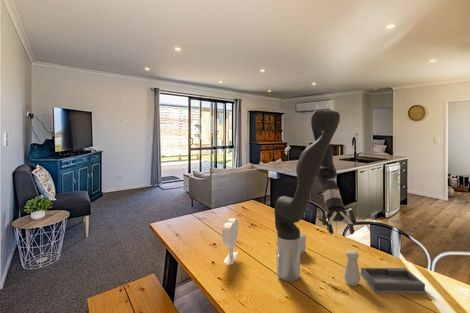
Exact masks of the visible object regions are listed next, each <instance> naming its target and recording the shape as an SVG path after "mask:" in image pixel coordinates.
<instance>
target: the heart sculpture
mask: <svg viewBox="0 0 470 313" xmlns="http://www.w3.org/2000/svg"><path fill="white" fill-rule="evenodd" d="M238 234H239V219H238V218H230V217H229V218H228V219H227V222H226V221H225V223H224V224H223V227H222V233H221V235H222V238H221V239H222V243H223V245H224V246H226V247H227V248H228V253H229V254H227V255H228V256H227V255H226V256H227V257H225V258H224V260H223V261H224V263H226V264H225V265H234V263H235V261H236V259H237V257H236V255H237V254H238V252H239V251H237V252H233V251H234V248H235V247H236V243H237V240H238V239H237V238H238ZM238 255H239V254H238ZM235 258H236V259H235ZM234 260H235V261H234ZM233 262H234V263H233ZM224 263H223V264H224Z"/></svg>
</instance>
